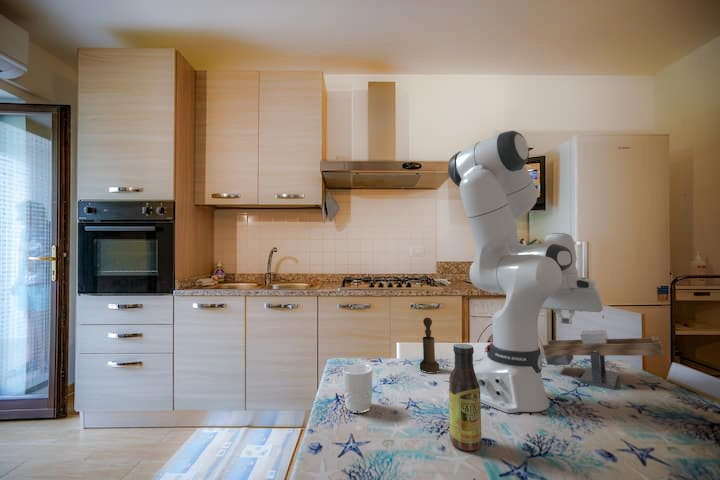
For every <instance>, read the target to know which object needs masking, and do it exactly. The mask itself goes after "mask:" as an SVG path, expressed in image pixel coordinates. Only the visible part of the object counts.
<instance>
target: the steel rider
mask: <svg viewBox="0 0 720 480" xmlns="http://www.w3.org/2000/svg"><path fill="white" fill-rule="evenodd" d="M579 335H580V340H582V343H583V344H610V343H609V339H610V338H609V337H608V332H607V330H606V329H603V330H602V329H599V330H583V331H581V333H580V334H579Z"/></svg>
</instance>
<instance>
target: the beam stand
mask: <svg viewBox="0 0 720 480" xmlns="http://www.w3.org/2000/svg"><path fill="white" fill-rule="evenodd" d="M590 354H591V355H590V366H591V367H588V366H587V367H586V368H585V370H584V371H583V373H582V375H581V377H580V379H579V381H580V384H585V385H589V386H595V387H598V388H604V389H609V390H615V389H616V386H617V383H618V377H619V372H617V371H612V370H607V366H606V357H605V356H606V355H600V354H599V352H594V351H591V352H590Z"/></svg>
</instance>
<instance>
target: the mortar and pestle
mask: <svg viewBox="0 0 720 480" xmlns="http://www.w3.org/2000/svg"><path fill="white" fill-rule="evenodd" d="M422 321H423V325H424V327H425V330H424V334H425V336H422V350H423V351H422V352H423V353H422V354H423V355H422V356H423V360H421V361H420V363H419V370H420V369H421V370H423V371H426V372H437V371H439V372H440V363H439V362H437V360H436V357H435V355H436V354H435V337H434V336H432V330H431V326H432V325H433V320H432V318H431V317H425V318H423V320H422Z"/></svg>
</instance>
